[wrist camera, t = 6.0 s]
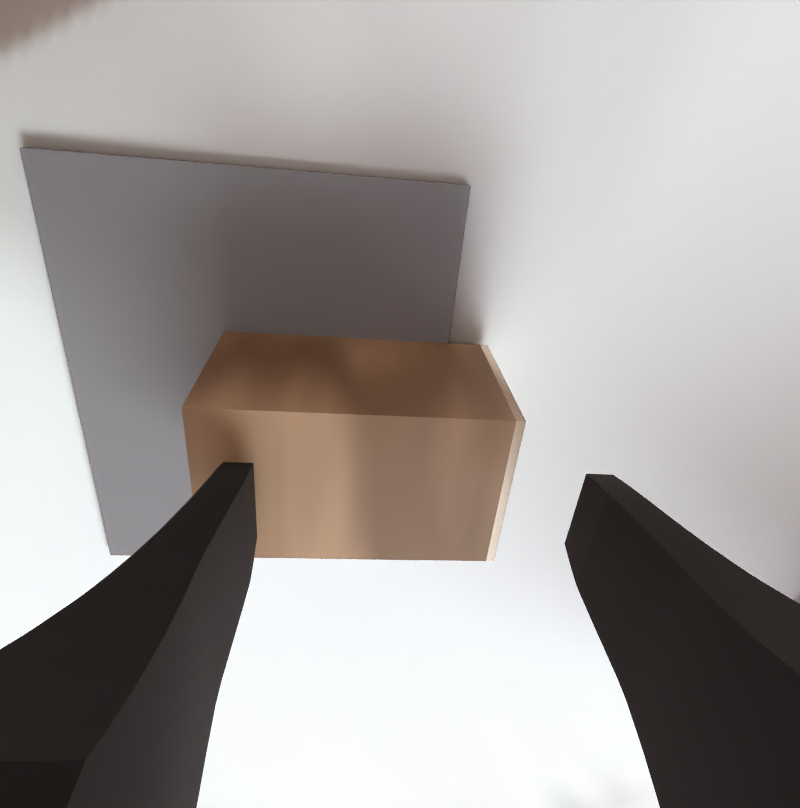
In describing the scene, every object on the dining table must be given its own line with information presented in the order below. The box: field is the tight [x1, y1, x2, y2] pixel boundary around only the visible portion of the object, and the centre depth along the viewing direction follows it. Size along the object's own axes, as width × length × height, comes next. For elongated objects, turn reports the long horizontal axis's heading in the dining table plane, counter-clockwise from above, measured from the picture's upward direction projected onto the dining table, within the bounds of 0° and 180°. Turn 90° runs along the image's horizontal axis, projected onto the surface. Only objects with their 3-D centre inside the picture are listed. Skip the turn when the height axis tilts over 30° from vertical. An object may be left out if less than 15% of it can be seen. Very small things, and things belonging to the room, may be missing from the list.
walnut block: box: [181, 331, 526, 561], centre depth 14 cm, size 4×4×7 cm
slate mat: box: [20, 147, 470, 560], centre depth 16 cm, size 10×12×1 cm
